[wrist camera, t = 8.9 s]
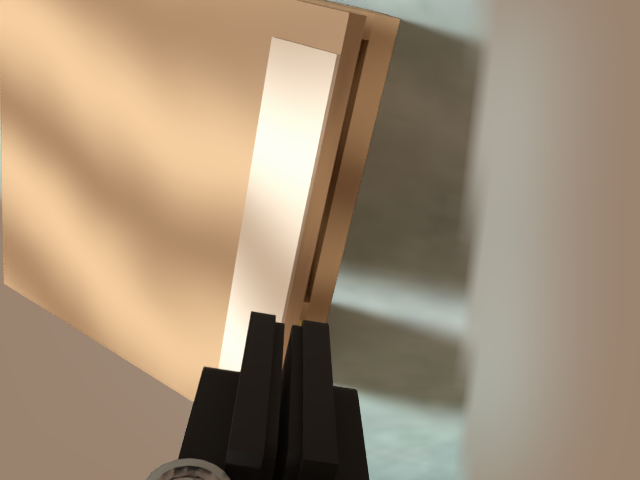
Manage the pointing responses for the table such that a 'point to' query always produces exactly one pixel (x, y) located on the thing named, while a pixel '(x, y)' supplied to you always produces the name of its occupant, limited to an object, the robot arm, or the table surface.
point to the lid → (169, 167)
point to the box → (349, 156)
